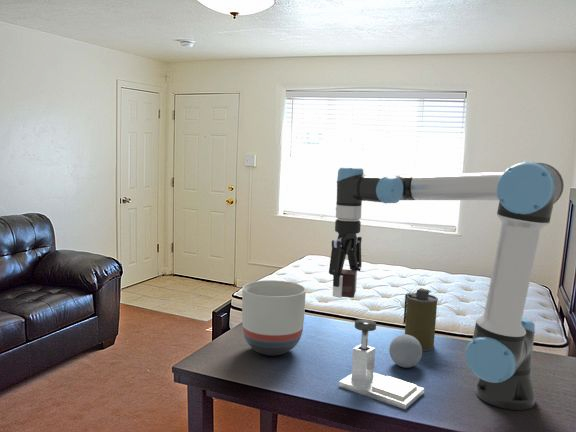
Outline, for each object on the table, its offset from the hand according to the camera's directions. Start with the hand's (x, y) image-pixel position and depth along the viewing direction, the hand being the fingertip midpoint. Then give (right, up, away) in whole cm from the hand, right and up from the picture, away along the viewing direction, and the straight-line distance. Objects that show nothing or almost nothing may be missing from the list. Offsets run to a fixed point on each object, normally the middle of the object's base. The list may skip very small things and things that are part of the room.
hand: (344, 293), depth 154 cm
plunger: (+4, -20, -9) cm, 22 cm away
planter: (-22, -21, +13) cm, 33 cm away
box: (0, -1, 0) cm, 0 cm away
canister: (+28, -22, +23) cm, 43 cm away
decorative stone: (+19, -24, +5) cm, 31 cm away
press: (+9, -25, -12) cm, 29 cm away
